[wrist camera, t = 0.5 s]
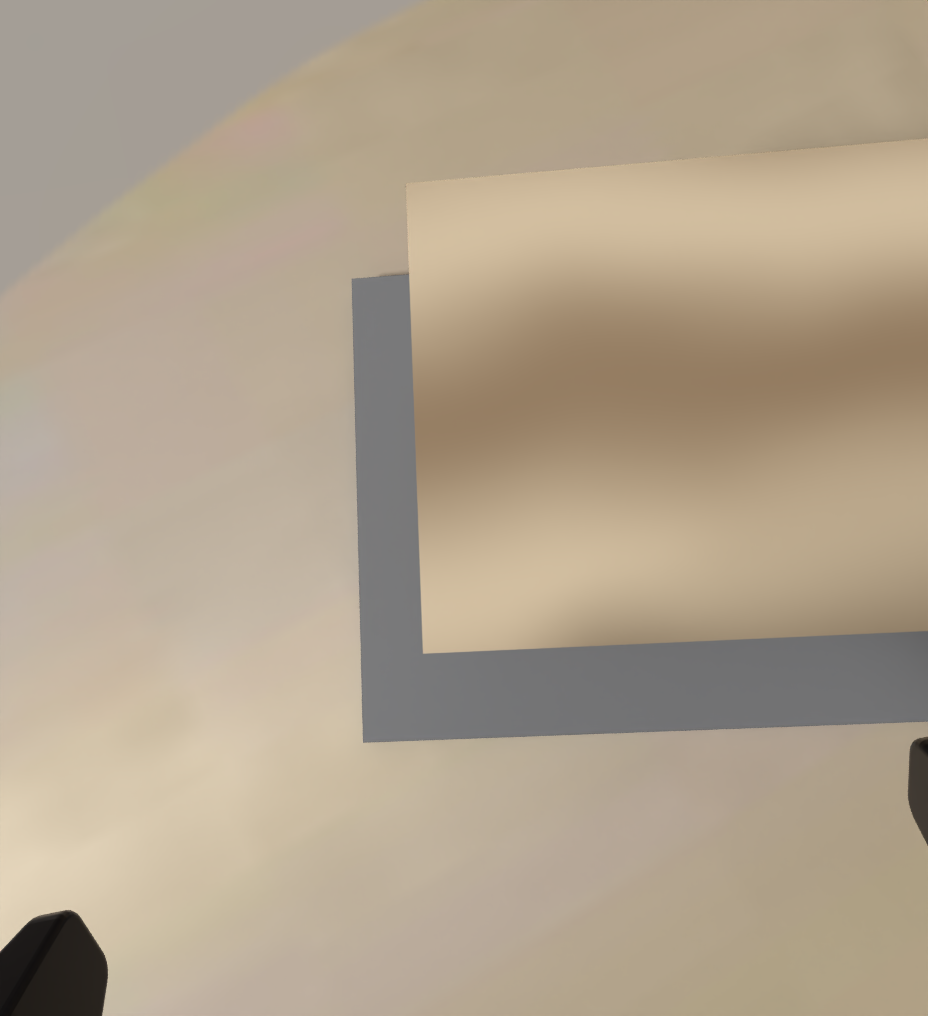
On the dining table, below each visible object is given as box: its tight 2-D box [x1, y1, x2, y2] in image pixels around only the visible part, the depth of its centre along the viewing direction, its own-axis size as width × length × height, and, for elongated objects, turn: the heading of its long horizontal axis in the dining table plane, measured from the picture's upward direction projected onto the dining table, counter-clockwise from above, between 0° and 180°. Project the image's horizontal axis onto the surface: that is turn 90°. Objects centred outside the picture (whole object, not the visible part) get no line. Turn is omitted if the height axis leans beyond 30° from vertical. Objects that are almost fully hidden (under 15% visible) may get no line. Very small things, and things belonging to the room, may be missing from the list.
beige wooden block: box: [406, 138, 928, 654], centre depth 19 cm, size 9×20×10 cm, turn 93°
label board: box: [352, 274, 928, 743], centre depth 24 cm, size 14×26×1 cm, turn 93°
